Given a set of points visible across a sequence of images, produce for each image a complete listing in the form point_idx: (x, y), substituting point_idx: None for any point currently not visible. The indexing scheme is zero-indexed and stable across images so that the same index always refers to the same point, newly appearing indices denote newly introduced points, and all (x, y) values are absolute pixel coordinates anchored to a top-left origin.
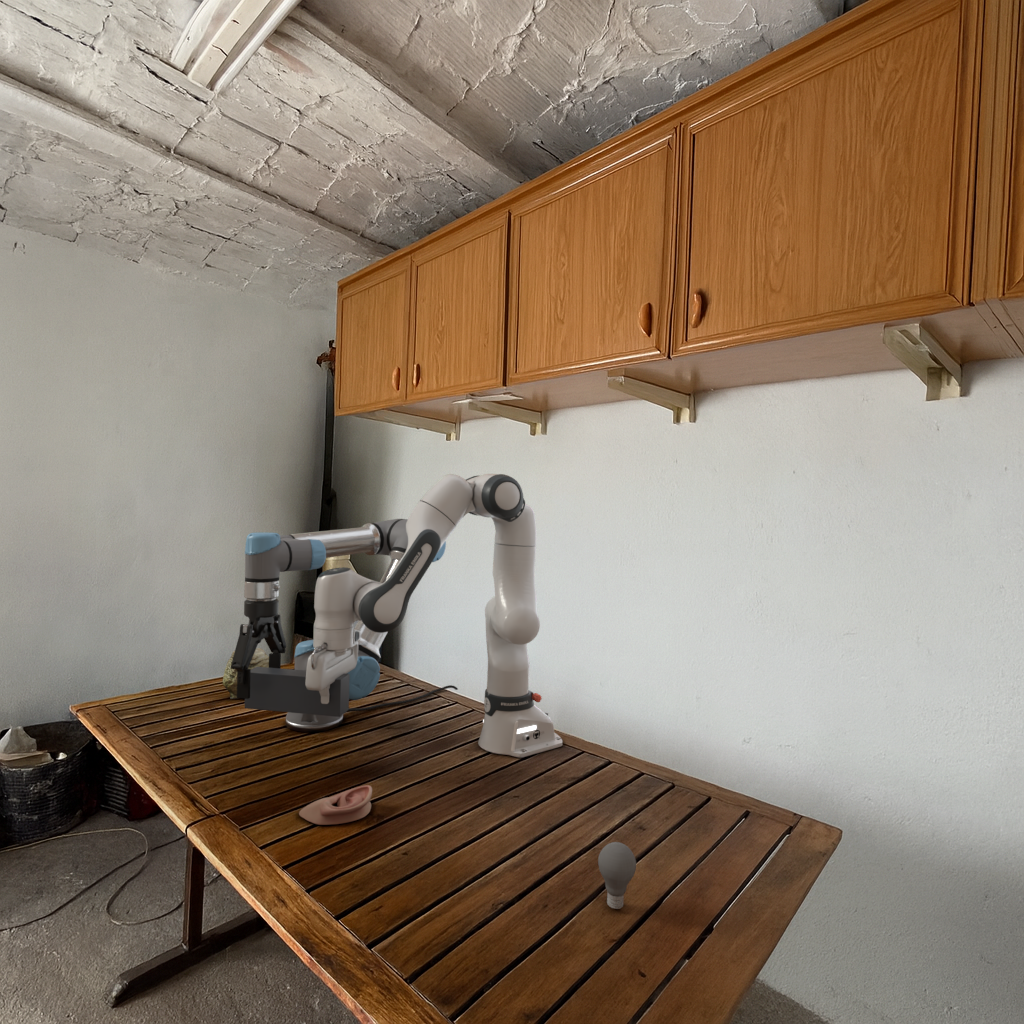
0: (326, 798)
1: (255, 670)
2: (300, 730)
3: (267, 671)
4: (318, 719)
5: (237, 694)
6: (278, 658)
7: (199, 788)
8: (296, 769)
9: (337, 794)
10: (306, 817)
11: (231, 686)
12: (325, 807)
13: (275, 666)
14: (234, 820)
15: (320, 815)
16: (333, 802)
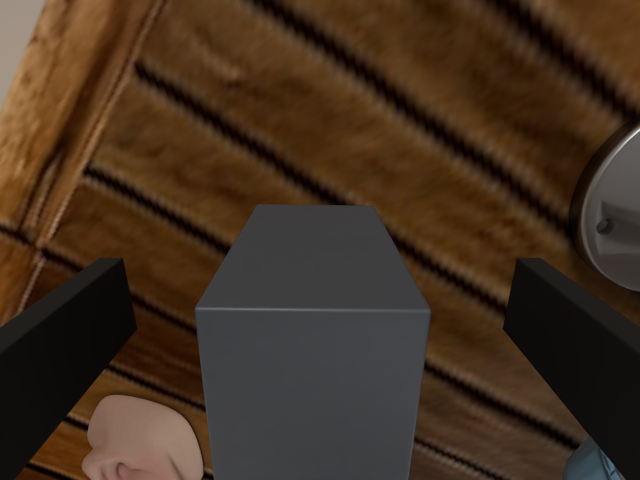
0: (143, 443)
1: (282, 367)
2: (576, 194)
3: (283, 468)
4: (607, 257)
5: (87, 271)
6: (631, 474)
7: (121, 120)
8: None
9: (152, 463)
10: (92, 418)
11: None
12: (90, 466)
13: (573, 379)
14: (32, 294)
15: (93, 446)
16: (125, 464)
